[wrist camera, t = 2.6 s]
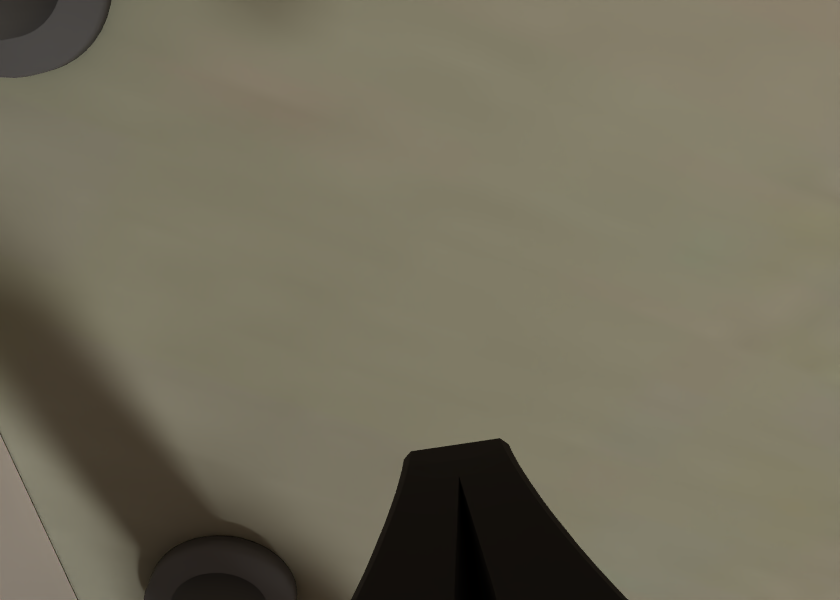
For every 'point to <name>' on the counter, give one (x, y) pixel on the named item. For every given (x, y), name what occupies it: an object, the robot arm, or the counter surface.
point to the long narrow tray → (25, 544)
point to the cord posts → (199, 558)
